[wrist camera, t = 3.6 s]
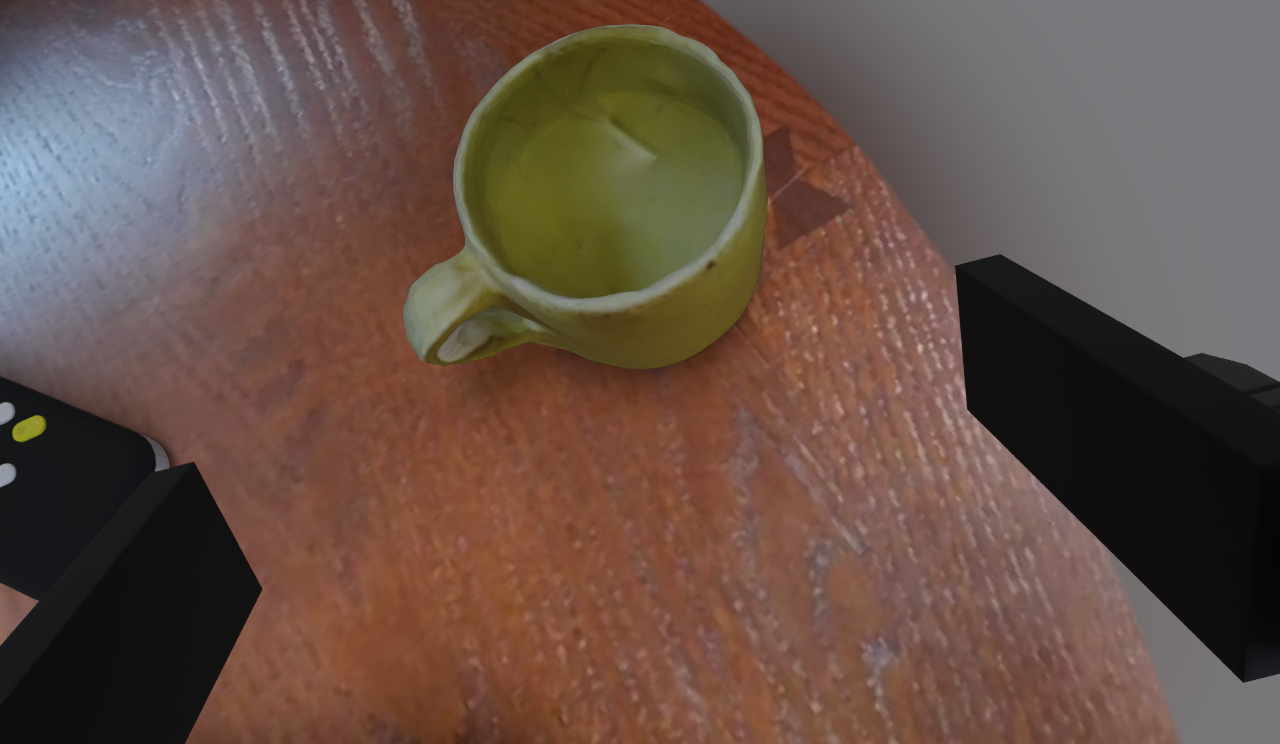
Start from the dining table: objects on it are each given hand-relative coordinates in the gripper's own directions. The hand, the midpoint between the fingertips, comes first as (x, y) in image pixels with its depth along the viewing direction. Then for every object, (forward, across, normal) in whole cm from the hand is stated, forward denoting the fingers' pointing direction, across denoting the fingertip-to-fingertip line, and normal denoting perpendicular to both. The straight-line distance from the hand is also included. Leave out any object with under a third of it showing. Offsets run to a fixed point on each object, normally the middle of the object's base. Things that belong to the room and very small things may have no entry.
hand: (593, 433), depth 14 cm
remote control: (+16, -23, -4) cm, 28 cm away
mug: (+17, 0, -4) cm, 17 cm away
